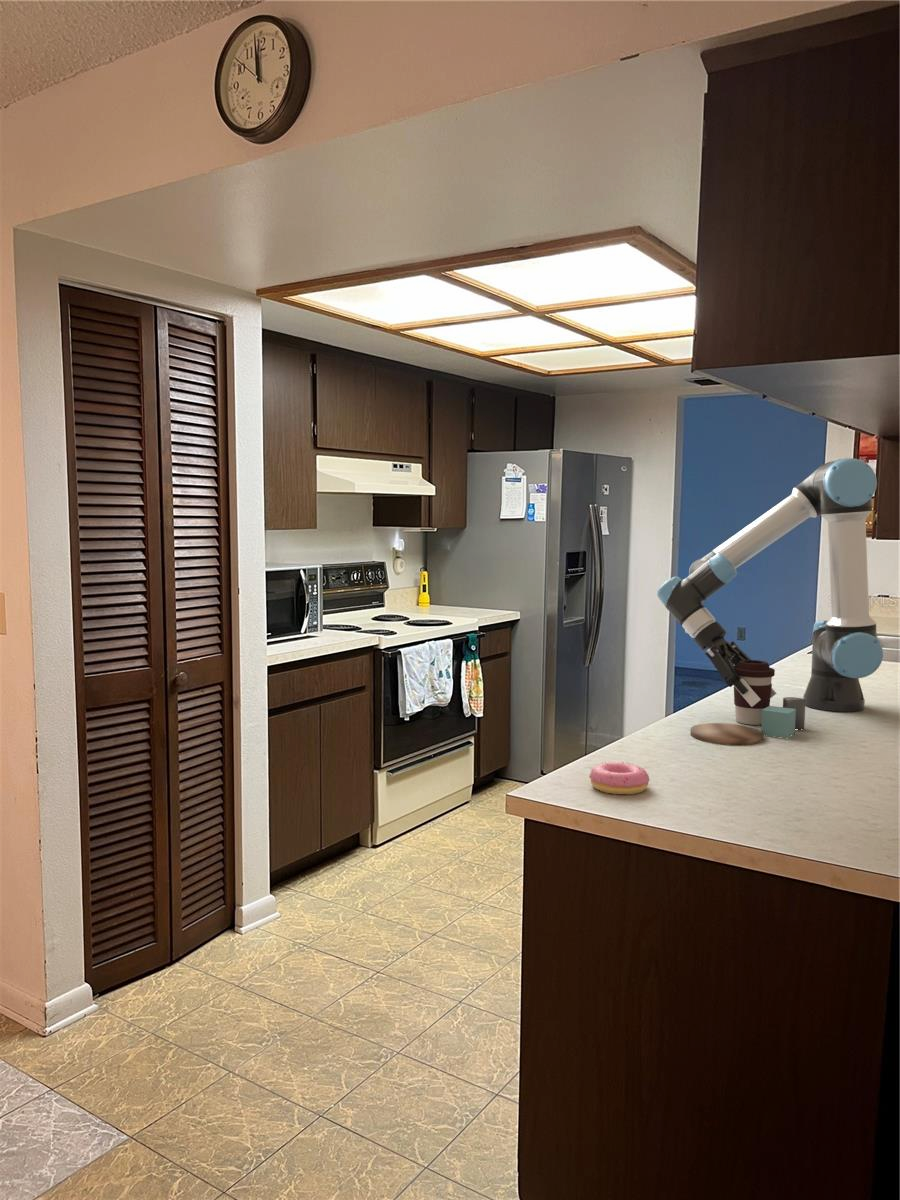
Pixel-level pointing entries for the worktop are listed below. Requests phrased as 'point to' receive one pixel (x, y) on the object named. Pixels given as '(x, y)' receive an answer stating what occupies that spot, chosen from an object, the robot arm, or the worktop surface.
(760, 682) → the coffee cup
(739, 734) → the walnut board
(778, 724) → the teal block
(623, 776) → the doughnut
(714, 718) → the worktop surface
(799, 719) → the gray cylinder
